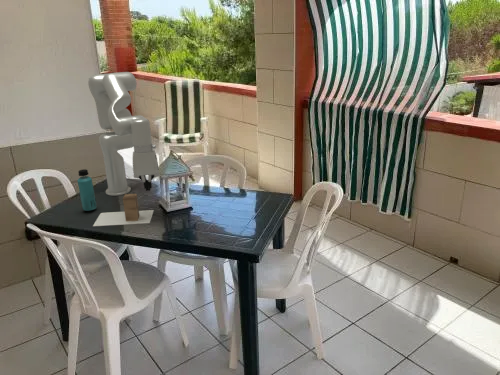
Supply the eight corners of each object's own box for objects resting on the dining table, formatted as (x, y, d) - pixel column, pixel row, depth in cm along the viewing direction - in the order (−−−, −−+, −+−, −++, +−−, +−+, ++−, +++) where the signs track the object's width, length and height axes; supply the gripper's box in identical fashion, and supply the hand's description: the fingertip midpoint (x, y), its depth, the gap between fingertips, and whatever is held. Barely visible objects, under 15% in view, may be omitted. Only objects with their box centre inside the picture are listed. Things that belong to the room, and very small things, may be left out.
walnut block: (128, 217, 181) (125, 194, 177) (139, 216, 181) (136, 193, 177) (126, 221, 176) (122, 198, 172) (137, 221, 176) (134, 197, 172)
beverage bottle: (92, 214, 185) (85, 172, 178) (79, 213, 187) (72, 172, 180) (100, 208, 191) (93, 168, 184) (87, 207, 193) (80, 167, 186)
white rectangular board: (101, 213, 186) (100, 212, 186) (154, 210, 188) (153, 209, 187) (92, 227, 173) (92, 226, 172) (149, 223, 174) (149, 222, 174)
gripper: (162, 145, 172) (166, 186, 178) (126, 147, 171) (132, 188, 177) (160, 149, 165) (165, 191, 171) (123, 151, 164) (129, 194, 170)
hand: (148, 189), depth 174 cm, fingers closed
